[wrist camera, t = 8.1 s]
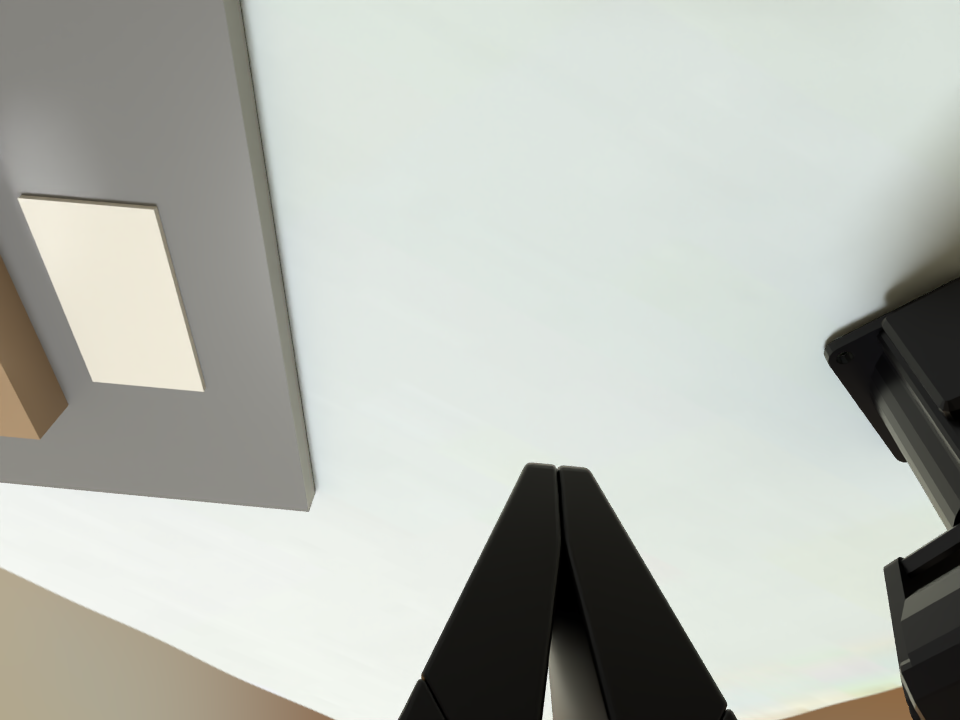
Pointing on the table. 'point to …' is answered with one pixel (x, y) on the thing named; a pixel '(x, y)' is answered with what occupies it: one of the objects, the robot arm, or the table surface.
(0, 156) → the board
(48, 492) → the table surface
